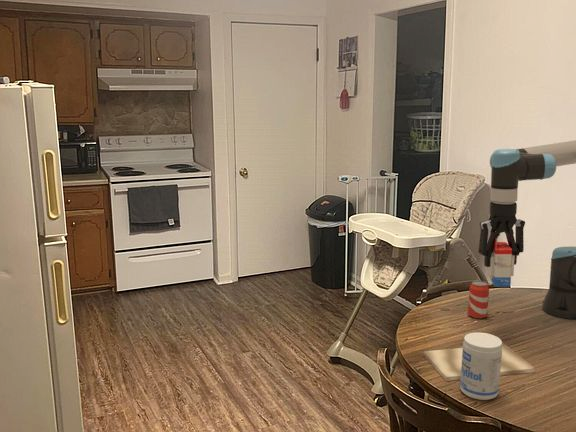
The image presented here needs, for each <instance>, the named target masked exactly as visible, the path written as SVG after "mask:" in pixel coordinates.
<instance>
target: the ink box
mask: <svg viewBox="0 0 576 432" xmlns="http://www.w3.org/2000/svg"><path fill="white" fill-rule="evenodd" d="M491 256H492V257H494V264H493V278H490V277H488V279H489V280H490V282H491V283H492V284H493V286H494V287H505V288H506V287H511V285H512V284H511V283H512V280H511V279H512V276H511V262H512V249H511V248H510V246H509V245H508V242H505V241H498V238H497V239H496V238H495V246H494V250H493V253H492V255H491Z"/></svg>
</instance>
